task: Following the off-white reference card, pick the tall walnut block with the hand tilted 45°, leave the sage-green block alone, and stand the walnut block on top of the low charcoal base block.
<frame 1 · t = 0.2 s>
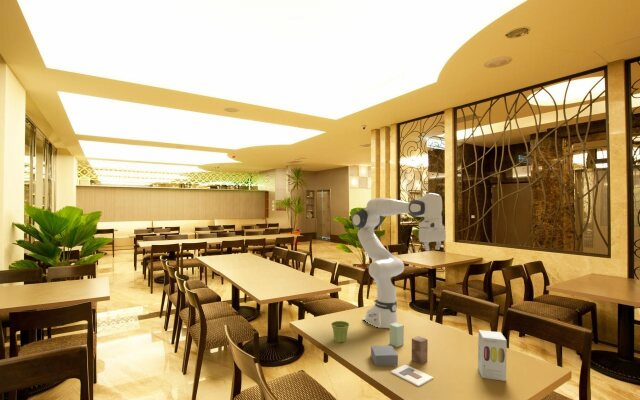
hand: (432, 250, 175), 48 cm above the table, tool pointing down, fingers open, 8 cm apart
supplement box: (491, 374, 142), on the table
plant pot: (340, 341, 175), on the table
reference card: (411, 375, 140), on the table
walnut block: (419, 360, 153), on the table
sage block: (396, 344, 171), on the table
charcoal base block: (383, 361, 153), on the table
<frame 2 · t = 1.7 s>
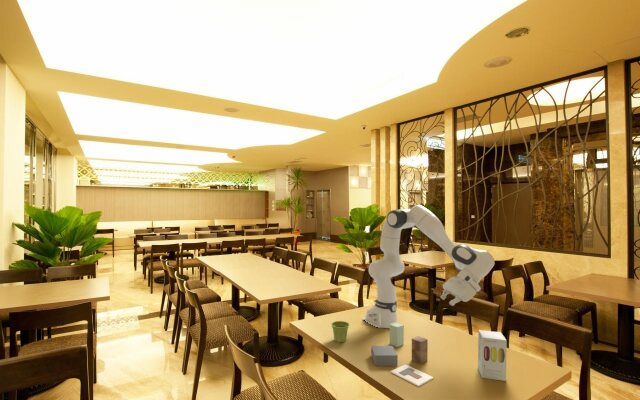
hand: (446, 301, 154), 27 cm above the table, tool tilted 45°, fingers open, 8 cm apart
nothing on the table moved.
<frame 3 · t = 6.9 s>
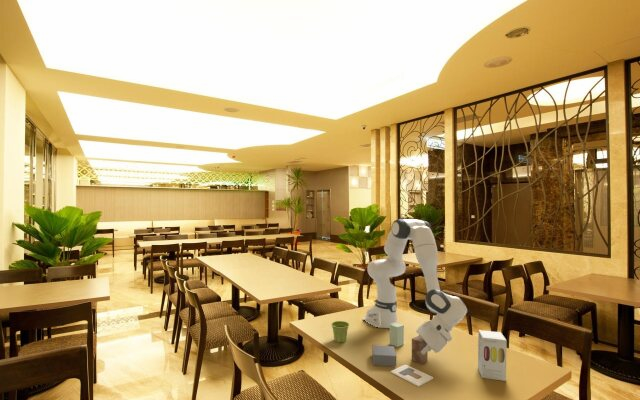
hand: (418, 348, 153), 5 cm above the table, tool tilted 45°, fingers closed on walnut block, 7 cm apart
walnut block: (419, 360, 153), on the table, touching gripper
everything else where it was.
when the fingers open (12 cm above the table, at t = 14.6 s): walnut block drops 2 cm, resting on charcoal base block.
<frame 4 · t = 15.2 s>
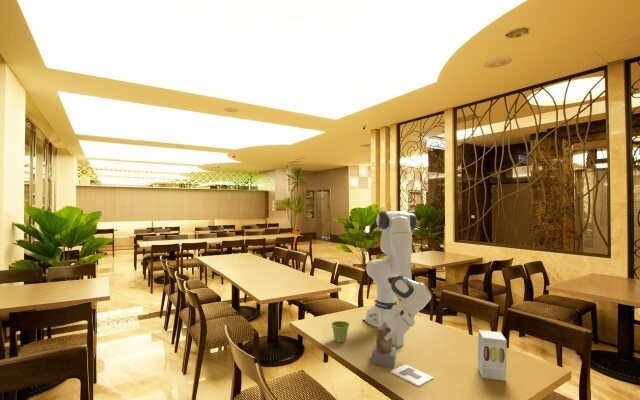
hand: (382, 334, 153), 12 cm above the table, tool tilted 45°, fingers open, 8 cm apart
walnut block: (383, 350, 153), point 5 cm above the table, touching charcoal base block
charcoal base block: (383, 361, 153), on the table, touching walnut block
everything else where it was.
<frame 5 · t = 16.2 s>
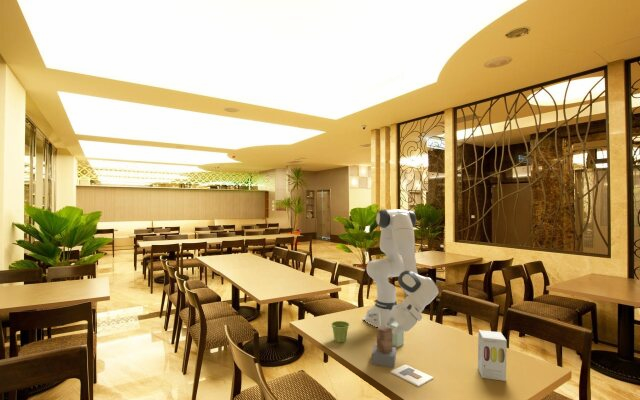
hand: (389, 329, 154), 14 cm above the table, tool tilted 45°, fingers open, 8 cm apart
nothing on the table moved.
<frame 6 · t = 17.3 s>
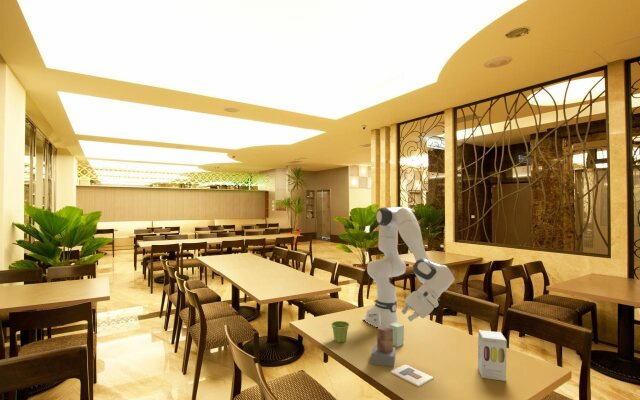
hand: (405, 316, 154), 20 cm above the table, tool tilted 45°, fingers open, 8 cm apart
walnut block: (385, 350, 153), point 5 cm above the table
charcoal base block: (383, 361, 153), on the table
everything else where it was.
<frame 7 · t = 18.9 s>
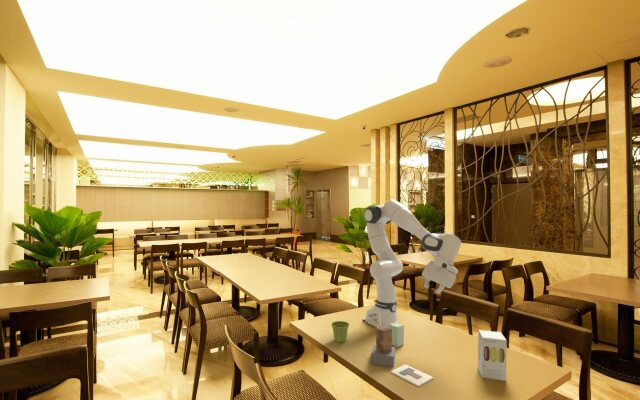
hand: (431, 290, 164), 30 cm above the table, tool tilted 25°, fingers open, 8 cm apart
nothing on the table moved.
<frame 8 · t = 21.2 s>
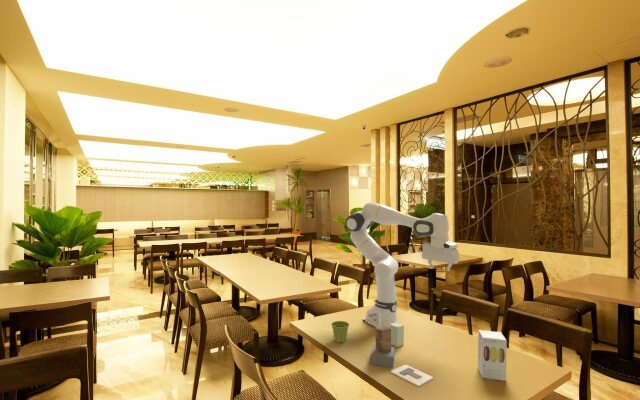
hand: (439, 269, 178), 37 cm above the table, tool pointing down, fingers open, 8 cm apart
walnut block: (383, 350, 154), point 5 cm above the table, touching charcoal base block
charcoal base block: (382, 361, 153), on the table, touching walnut block
everything else where it was.
at the end: walnut block 0.6 cm off-centre on the charcoal base block, point 5.1 cm above the charcoal base block's base; walnut block tilted 1°; sage block moved 0.0 cm from its start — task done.
